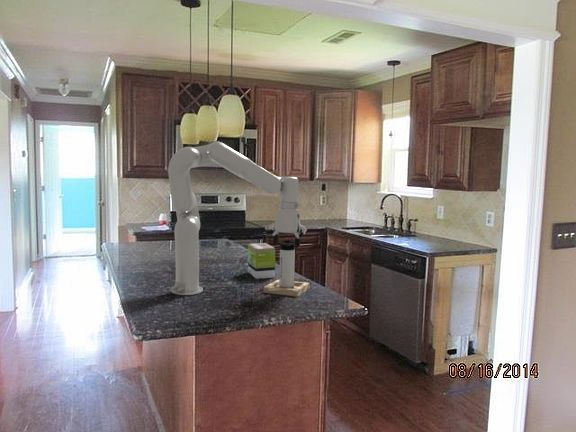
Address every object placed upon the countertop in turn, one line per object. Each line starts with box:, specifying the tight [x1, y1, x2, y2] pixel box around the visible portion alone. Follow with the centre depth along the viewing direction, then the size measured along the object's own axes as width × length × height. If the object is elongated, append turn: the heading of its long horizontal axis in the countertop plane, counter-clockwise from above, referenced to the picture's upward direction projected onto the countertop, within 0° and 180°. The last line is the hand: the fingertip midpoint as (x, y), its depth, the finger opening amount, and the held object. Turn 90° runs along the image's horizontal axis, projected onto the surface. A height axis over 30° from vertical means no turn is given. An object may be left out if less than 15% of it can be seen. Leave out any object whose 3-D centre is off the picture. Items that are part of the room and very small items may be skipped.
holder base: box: [263, 279, 311, 297], centre depth 202 cm, size 15×15×2 cm
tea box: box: [247, 242, 276, 280], centre depth 231 cm, size 15×10×15 cm
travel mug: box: [278, 240, 296, 289], centre depth 201 cm, size 6×7×20 cm
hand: (286, 246), depth 200 cm, fingers open, 9 cm apart
